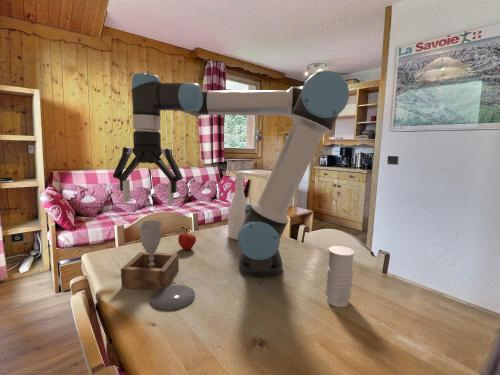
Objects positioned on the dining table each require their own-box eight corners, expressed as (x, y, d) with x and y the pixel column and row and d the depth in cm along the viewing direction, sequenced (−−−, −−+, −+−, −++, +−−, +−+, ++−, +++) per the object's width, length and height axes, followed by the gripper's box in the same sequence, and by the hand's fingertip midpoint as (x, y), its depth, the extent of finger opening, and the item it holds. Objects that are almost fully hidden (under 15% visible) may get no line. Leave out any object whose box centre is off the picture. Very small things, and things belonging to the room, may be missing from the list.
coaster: (199, 287, 85) (199, 286, 85) (188, 311, 74) (188, 309, 73) (159, 285, 86) (159, 283, 86) (142, 308, 74) (142, 306, 74)
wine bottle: (225, 239, 128) (226, 172, 123) (230, 232, 137) (231, 170, 132) (246, 241, 126) (248, 173, 121) (250, 234, 135) (252, 171, 130)
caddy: (178, 270, 96) (178, 253, 95) (165, 290, 83) (164, 271, 82) (140, 268, 97) (140, 251, 96) (121, 288, 84) (120, 269, 83)
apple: (187, 245, 120) (187, 222, 118) (199, 249, 116) (199, 225, 114) (173, 250, 113) (172, 226, 112) (184, 254, 110) (184, 229, 108)
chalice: (155, 285, 86) (154, 228, 83) (135, 283, 87) (133, 226, 84) (167, 274, 93) (166, 221, 90) (148, 272, 94) (146, 219, 91)
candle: (319, 297, 82) (323, 247, 80) (338, 292, 85) (342, 244, 82) (335, 310, 76) (339, 256, 73) (355, 305, 79) (360, 253, 76)
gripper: (192, 132, 86) (192, 201, 89) (112, 130, 87) (115, 198, 91) (185, 131, 78) (186, 207, 82) (97, 129, 80) (101, 203, 83)
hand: (148, 202), depth 86 cm, fingers open, 13 cm apart
